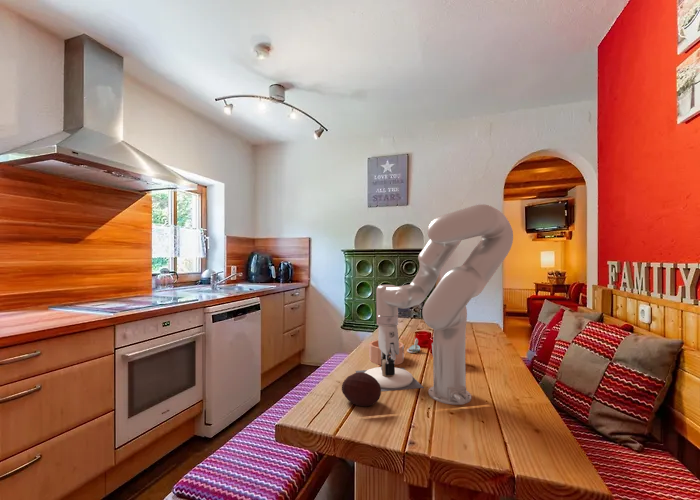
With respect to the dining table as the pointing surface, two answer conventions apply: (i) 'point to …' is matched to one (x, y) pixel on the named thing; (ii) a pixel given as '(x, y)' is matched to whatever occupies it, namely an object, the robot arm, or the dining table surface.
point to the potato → (361, 389)
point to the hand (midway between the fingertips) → (387, 371)
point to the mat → (413, 385)
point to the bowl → (376, 353)
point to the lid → (391, 377)
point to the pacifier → (414, 347)
